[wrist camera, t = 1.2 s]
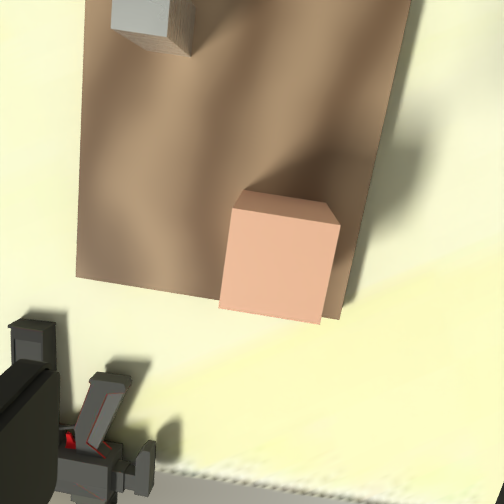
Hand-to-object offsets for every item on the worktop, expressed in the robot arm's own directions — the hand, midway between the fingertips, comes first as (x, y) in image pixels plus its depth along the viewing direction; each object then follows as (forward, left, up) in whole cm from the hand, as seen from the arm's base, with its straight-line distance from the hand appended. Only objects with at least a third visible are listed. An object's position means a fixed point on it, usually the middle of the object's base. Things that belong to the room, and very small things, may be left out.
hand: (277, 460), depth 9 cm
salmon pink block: (0, 0, -19) cm, 19 cm away
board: (+4, -5, -21) cm, 22 cm away
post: (+8, -11, -21) cm, 25 cm away
